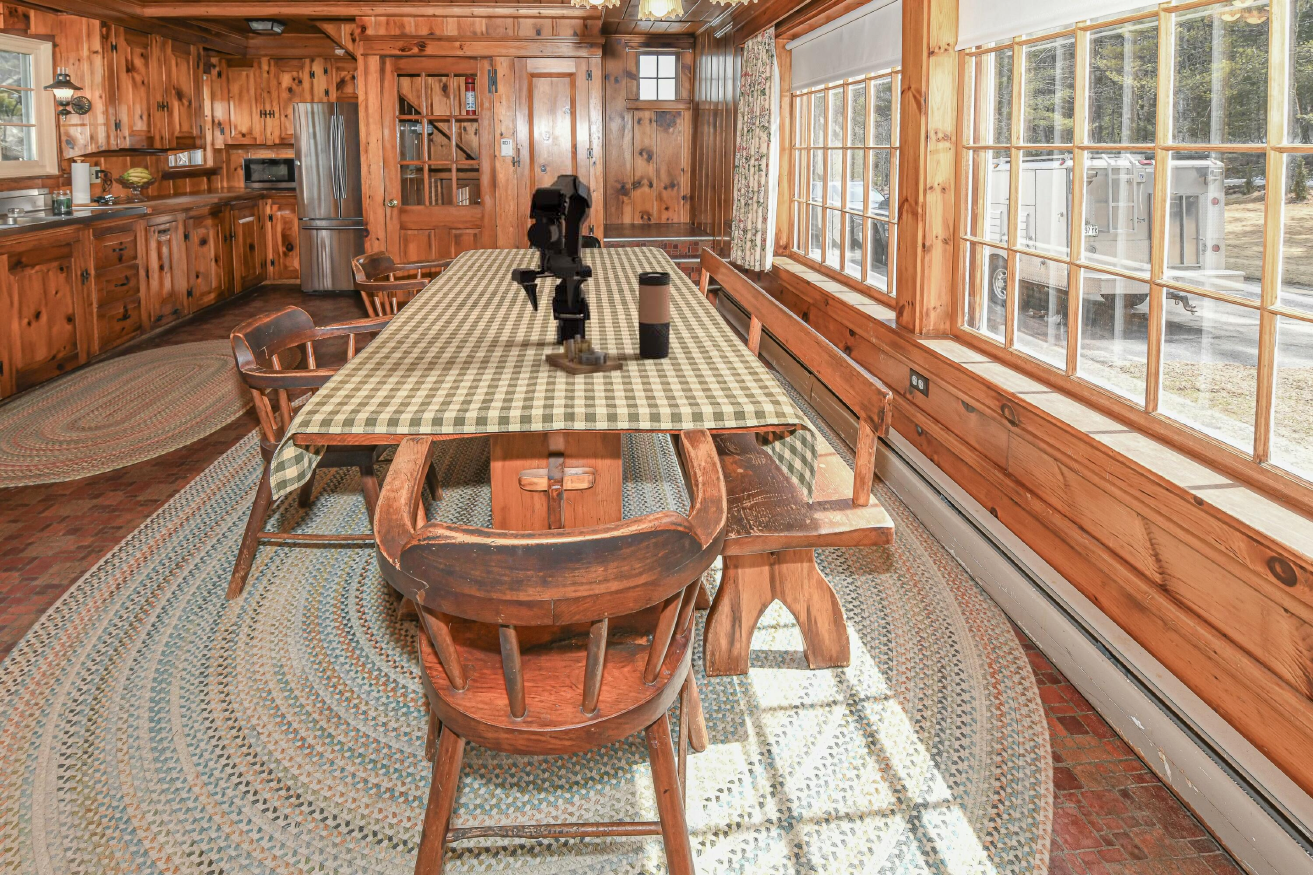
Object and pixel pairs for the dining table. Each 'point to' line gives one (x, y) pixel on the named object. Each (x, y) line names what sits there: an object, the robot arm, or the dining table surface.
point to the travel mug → (654, 314)
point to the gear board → (583, 360)
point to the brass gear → (578, 347)
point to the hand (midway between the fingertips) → (553, 309)
